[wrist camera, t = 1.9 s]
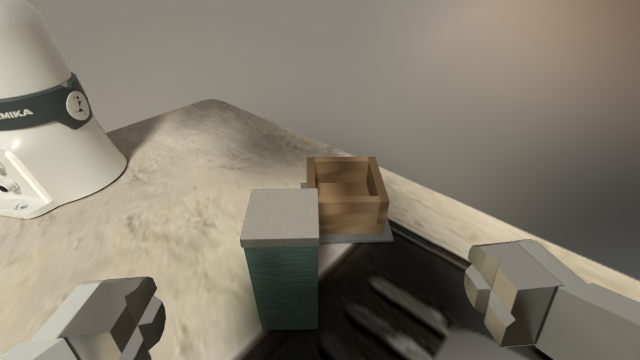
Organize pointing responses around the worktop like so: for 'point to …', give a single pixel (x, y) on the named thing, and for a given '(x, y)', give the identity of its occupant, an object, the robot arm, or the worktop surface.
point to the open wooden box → (348, 194)
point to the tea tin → (283, 256)
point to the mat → (356, 237)
